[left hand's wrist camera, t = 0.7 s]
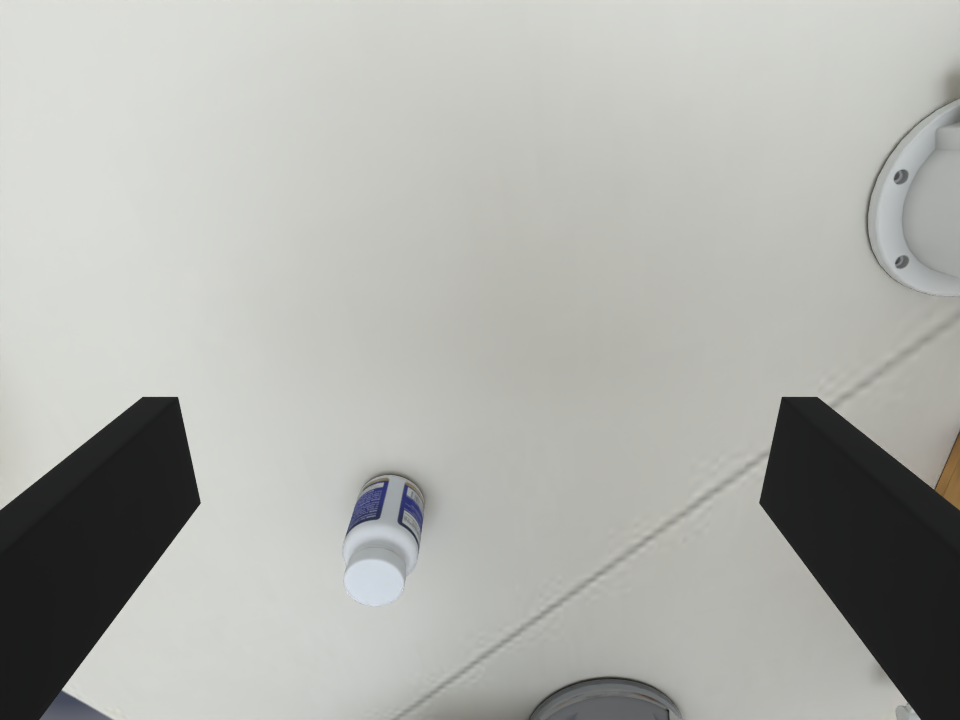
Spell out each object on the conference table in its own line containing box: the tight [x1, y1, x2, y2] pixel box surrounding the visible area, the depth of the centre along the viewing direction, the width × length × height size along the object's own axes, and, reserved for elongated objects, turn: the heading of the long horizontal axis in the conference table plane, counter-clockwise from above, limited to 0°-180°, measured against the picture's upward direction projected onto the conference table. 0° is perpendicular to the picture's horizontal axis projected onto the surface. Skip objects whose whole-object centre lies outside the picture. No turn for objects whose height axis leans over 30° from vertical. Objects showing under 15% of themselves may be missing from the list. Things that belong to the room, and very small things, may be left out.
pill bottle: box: [342, 475, 424, 606], centre depth 42 cm, size 5×5×9 cm
